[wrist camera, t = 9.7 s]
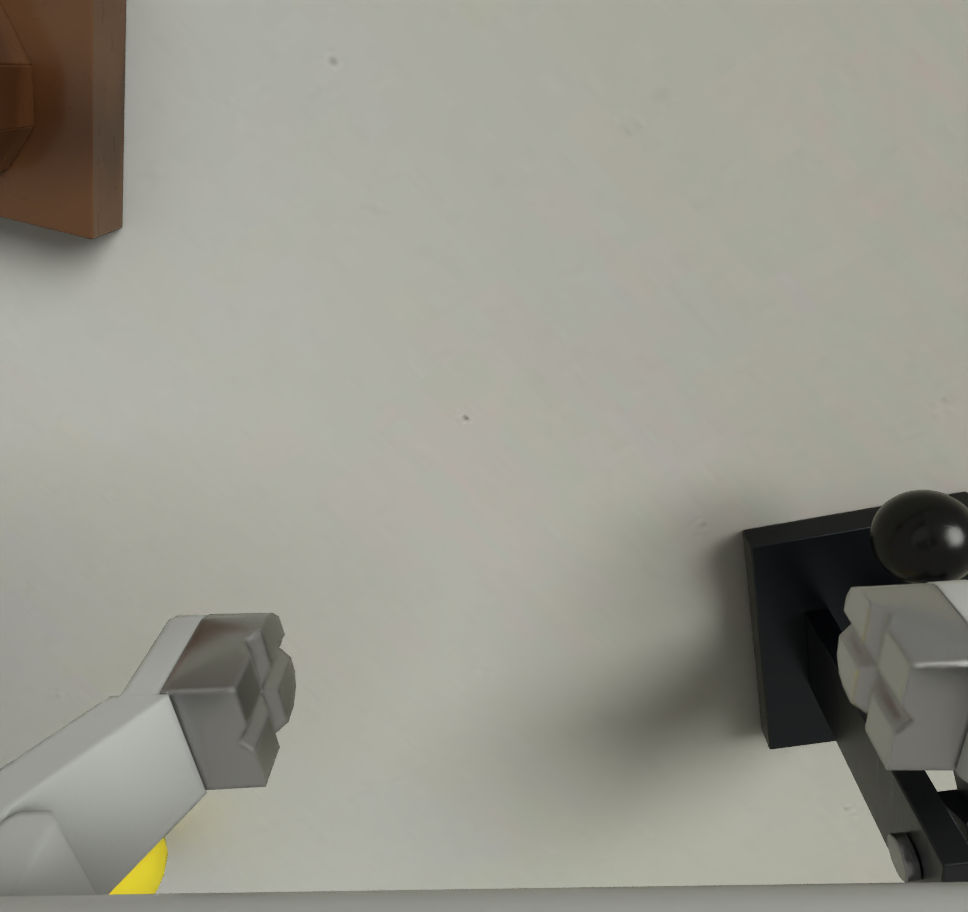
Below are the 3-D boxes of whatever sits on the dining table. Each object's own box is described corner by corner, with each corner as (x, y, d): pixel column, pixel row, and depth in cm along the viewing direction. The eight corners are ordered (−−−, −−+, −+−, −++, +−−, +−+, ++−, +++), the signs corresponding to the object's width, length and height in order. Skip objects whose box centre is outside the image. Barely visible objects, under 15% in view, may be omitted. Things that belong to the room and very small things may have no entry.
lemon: (208, 832, 42) (169, 930, 37) (140, 862, 43) (93, 959, 39) (120, 757, 39) (65, 851, 35) (50, 791, 41) (-11, 886, 36)
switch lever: (846, 498, 26) (881, 500, 23) (941, 481, 26) (990, 481, 23) (929, 871, 25) (976, 925, 22) (1029, 860, 25) (1091, 914, 22)
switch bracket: (742, 529, 31) (870, 786, 20) (966, 490, 30) (1239, 741, 19) (761, 729, 37) (872, 1022, 25) (953, 702, 35) (1160, 998, 24)
